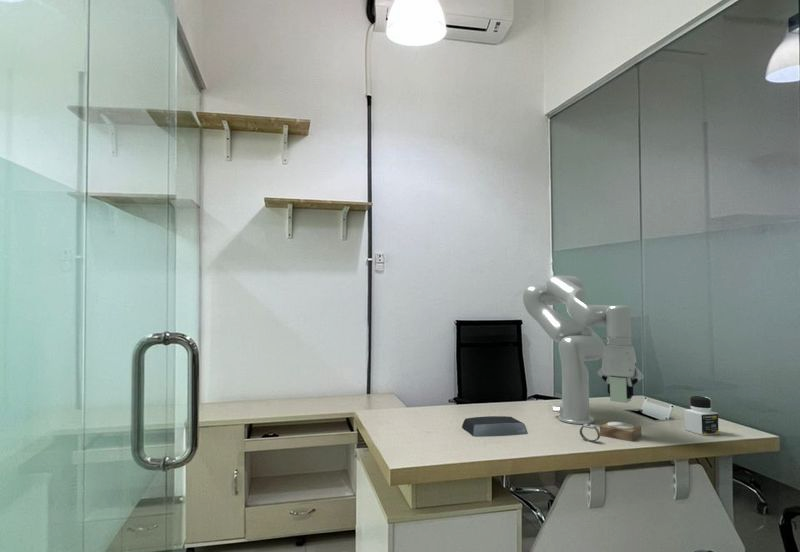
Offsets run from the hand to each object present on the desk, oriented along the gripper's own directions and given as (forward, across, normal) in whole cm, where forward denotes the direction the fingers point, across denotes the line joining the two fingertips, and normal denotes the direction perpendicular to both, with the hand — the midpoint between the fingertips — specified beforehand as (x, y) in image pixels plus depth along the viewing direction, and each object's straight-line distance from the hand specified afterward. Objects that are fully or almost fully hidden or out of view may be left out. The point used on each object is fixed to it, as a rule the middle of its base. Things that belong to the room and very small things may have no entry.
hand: (620, 396), depth 158 cm
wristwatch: (+13, -5, -14) cm, 20 cm away
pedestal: (+13, 0, 0) cm, 13 cm away
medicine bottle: (+13, +19, +24) cm, 33 cm away
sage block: (+1, 0, 0) cm, 1 cm away
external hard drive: (+13, -34, -24) cm, 44 cm away
